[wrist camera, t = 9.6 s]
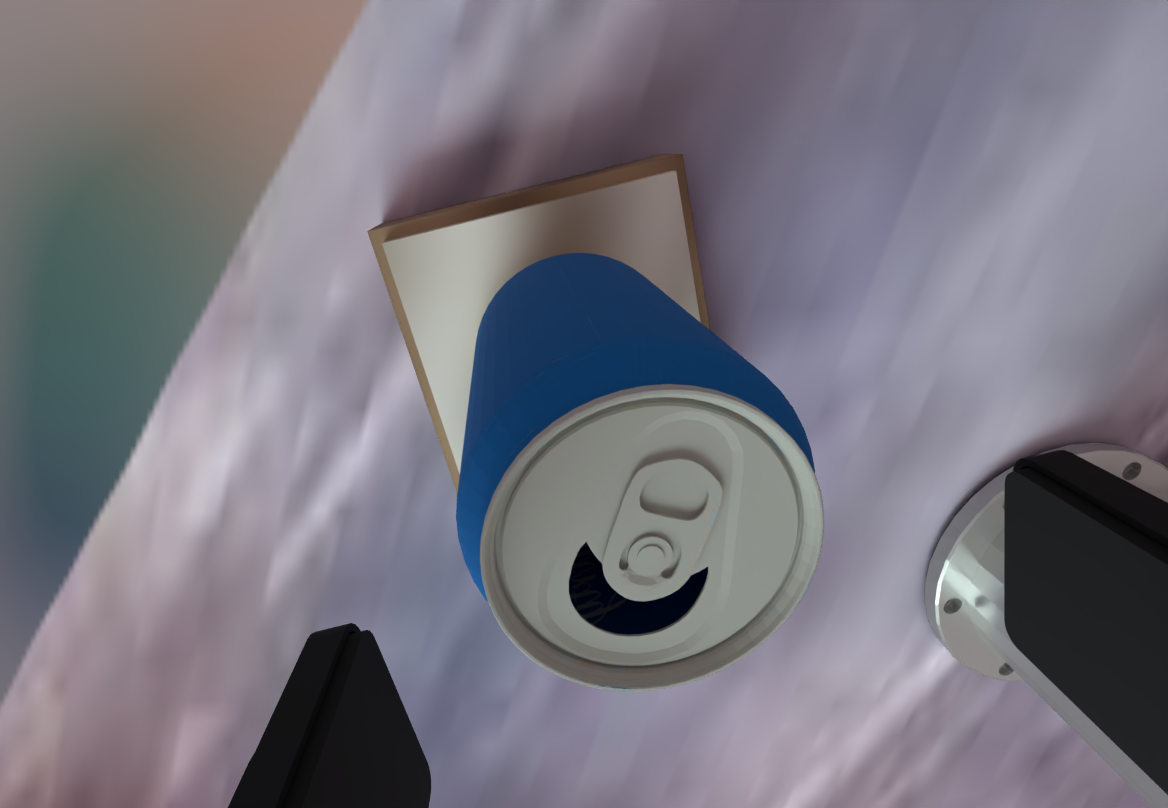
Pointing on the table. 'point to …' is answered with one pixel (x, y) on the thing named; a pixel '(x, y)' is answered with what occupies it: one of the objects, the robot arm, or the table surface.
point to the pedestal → (526, 264)
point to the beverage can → (629, 482)
